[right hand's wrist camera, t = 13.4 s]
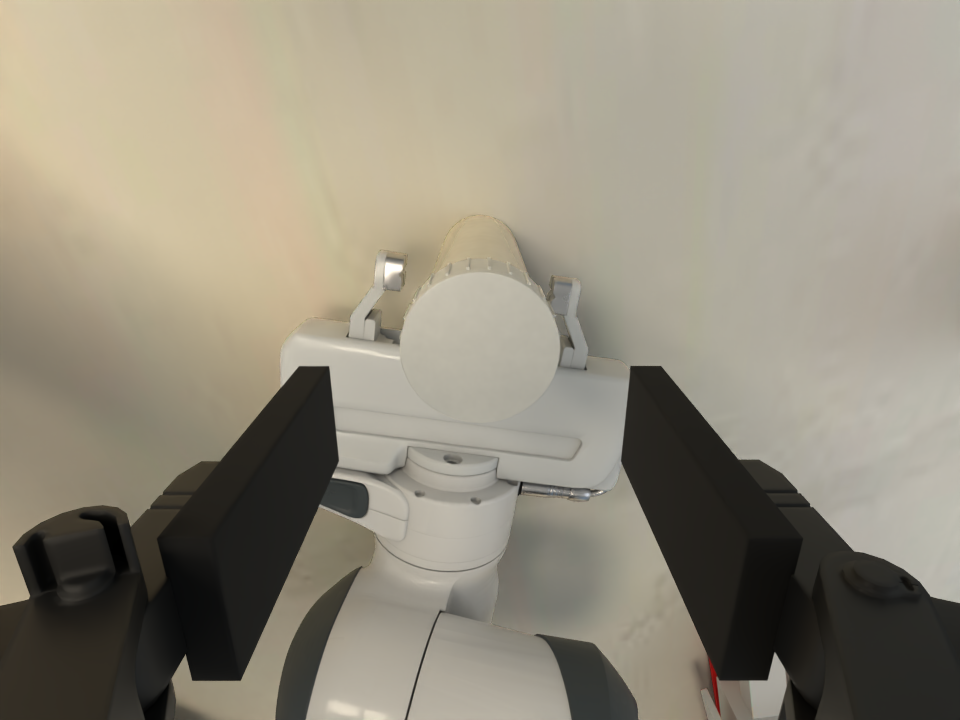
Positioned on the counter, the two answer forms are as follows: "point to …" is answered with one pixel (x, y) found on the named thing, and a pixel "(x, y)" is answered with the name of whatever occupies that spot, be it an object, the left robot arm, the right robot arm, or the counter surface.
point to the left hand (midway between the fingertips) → (480, 266)
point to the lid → (479, 341)
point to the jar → (479, 243)
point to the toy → (747, 696)
